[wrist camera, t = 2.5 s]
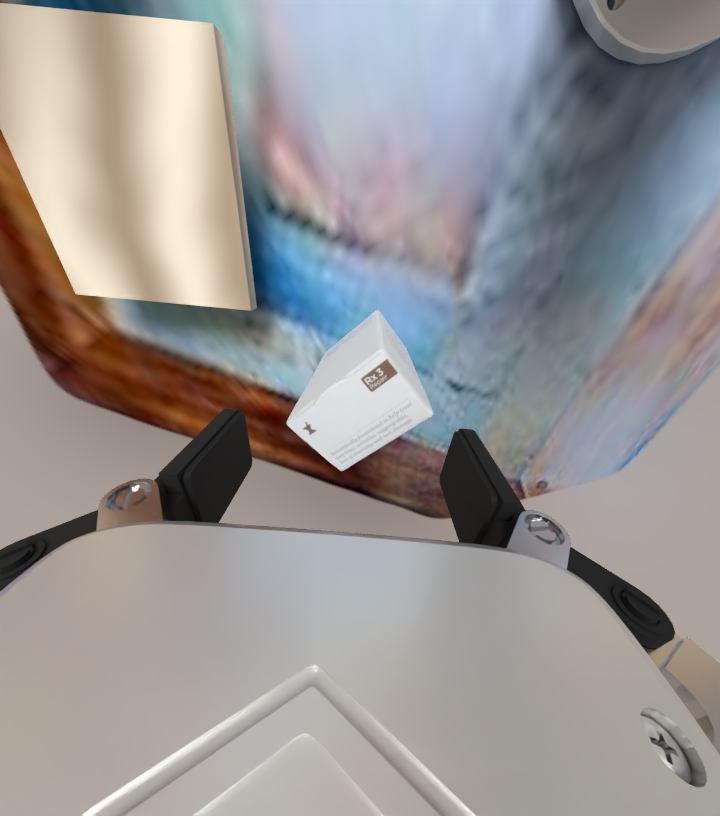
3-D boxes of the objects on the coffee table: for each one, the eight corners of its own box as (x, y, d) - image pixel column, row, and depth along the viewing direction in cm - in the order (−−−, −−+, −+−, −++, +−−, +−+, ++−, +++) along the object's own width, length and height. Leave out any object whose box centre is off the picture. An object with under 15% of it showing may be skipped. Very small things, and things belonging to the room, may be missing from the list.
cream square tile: (251, 78, 15) (213, 23, 11) (271, 302, 21) (251, 310, 17) (43, 59, 15) (-60, -3, 11) (125, 288, 21) (75, 294, 17)
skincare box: (355, 385, 24) (341, 481, 14) (322, 349, 23) (279, 427, 12) (409, 345, 22) (441, 423, 12) (377, 302, 20) (381, 348, 10)
